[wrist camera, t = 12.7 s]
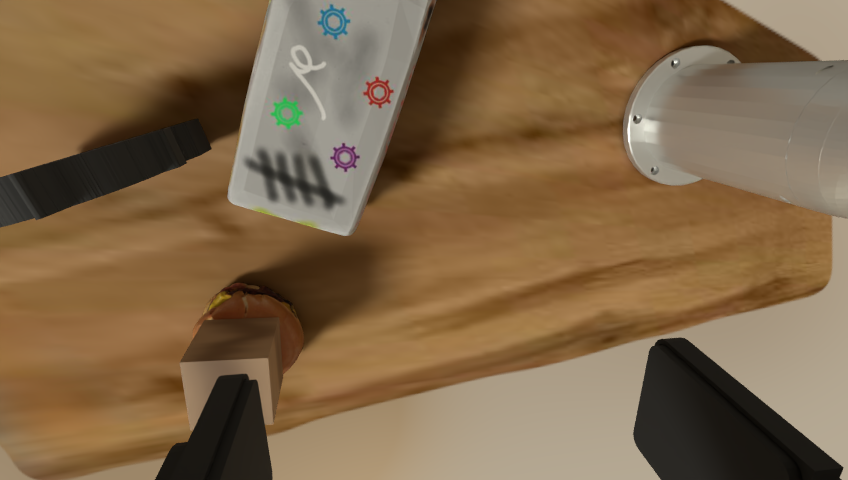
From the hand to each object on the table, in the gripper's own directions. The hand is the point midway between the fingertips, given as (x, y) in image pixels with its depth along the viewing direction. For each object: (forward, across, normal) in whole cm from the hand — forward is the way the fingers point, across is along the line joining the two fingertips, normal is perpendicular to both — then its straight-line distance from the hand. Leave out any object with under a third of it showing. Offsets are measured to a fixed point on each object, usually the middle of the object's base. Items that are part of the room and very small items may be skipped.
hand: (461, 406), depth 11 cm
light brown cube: (+27, +13, +15) cm, 33 cm away
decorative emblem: (+31, +20, -1) cm, 37 cm away
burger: (+32, +13, +15) cm, 38 cm away
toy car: (+32, +4, -8) cm, 33 cm away
